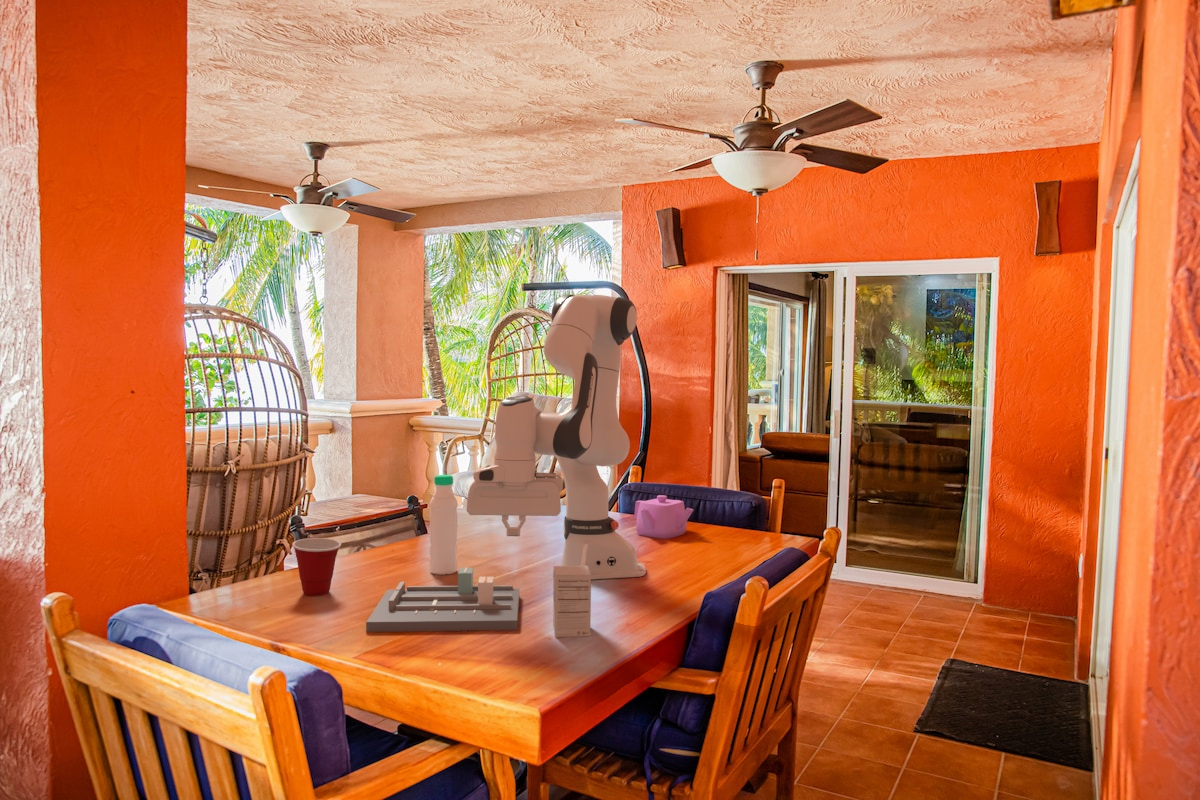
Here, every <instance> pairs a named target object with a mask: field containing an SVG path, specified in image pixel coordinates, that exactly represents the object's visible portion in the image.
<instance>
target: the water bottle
mask: <svg viewBox="0 0 1200 800" xmlns="http://www.w3.org/2000/svg"><path fill="white" fill-rule="evenodd" d="M433 479H434V481H433V482H434V487H435V491H434V492H433V495H432V497H431V499H430V501H429V508H430V513H429V542H430V543H429V544H430V545H429V565H428V566H429V572H430V573H431V574H433V575H441V576H442V575H443V576H445V575H446V574H447V575H451V574H454V573H456V572H457V570H458V558H457V556H458V545H457V541H458V511H457V508H458V500H457V499H456V496H455V494H454V492H453V490H452V487H453V483H454V477H453V475H451V474H439V475H435V476H434V478H433Z"/></svg>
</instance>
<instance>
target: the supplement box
mask: <svg viewBox="0 0 1200 800" xmlns="http://www.w3.org/2000/svg"><path fill="white" fill-rule="evenodd" d="M552 571H553V572H552V573H553V584H552V585H553V588H552V589H553V590H552V591H553V593H552V595H553V597H552V598H553V599H552V600H553V603H552V604H553V605H552V608H553V610H552V623H553V624H552V625H553V629H554V630H553V631H554V632H553V633H554V637H555V638H557V637H558V638H573V637H575V638H576V637H577V638H579V637H582V638H583V637H591V613H592V610H591V606H592V604H591V603H592V600H591V599H592V579H591V574H590V571H589V568H588V566H560V565H554V566H553V570H552Z"/></svg>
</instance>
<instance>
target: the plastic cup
mask: <svg viewBox="0 0 1200 800" xmlns="http://www.w3.org/2000/svg"><path fill="white" fill-rule="evenodd" d="M291 546H292V547H293V549H294V553H295V557H296V563H297V569H298V574H299V580H300V584H301V590H302V593H303V595H304V596H309V597H319V596H320V597H321V596H324V595H327V594H329V592H330V589H331V584H332V579H333V576H334V571H335V563H336V559H337V556H338V552H339V549H340V548H341V546H342V542H340V541H339V540H336V539H332V538H325V537H310V538H302V539H298V540H295V541H293V542H292V544H291Z"/></svg>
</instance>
